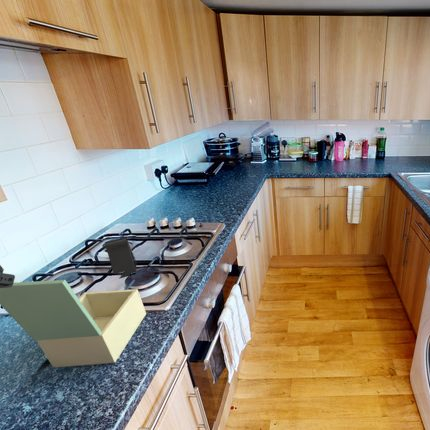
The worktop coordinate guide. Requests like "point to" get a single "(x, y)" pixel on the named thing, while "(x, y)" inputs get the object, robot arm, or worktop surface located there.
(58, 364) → the box
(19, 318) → the lid
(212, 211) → the worktop surface
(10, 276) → the robot arm
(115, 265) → the phone stand
